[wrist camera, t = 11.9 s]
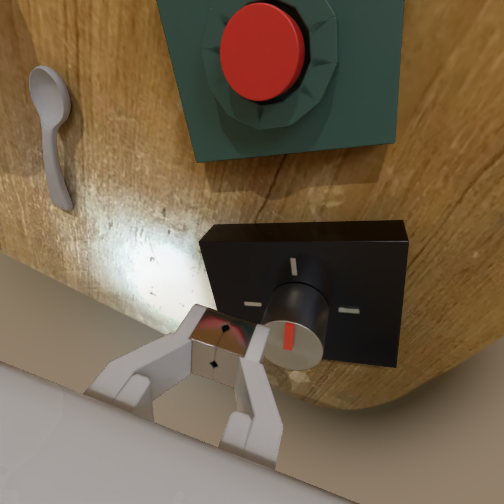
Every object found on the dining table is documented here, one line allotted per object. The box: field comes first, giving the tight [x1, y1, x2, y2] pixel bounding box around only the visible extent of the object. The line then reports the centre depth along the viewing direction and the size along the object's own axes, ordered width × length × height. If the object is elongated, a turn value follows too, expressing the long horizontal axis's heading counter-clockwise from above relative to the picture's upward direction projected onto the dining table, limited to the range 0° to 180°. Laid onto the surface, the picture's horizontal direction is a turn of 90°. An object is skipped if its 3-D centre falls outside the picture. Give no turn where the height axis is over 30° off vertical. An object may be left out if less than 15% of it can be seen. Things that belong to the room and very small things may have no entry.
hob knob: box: [260, 283, 329, 370], centre depth 21 cm, size 4×4×4 cm
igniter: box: [156, 0, 404, 163], centre depth 16 cm, size 12×10×4 cm
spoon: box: [29, 66, 73, 211], centre depth 25 cm, size 3×12×2 cm, turn 161°
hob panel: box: [199, 220, 409, 368], centre depth 24 cm, size 14×11×3 cm
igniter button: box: [220, 3, 305, 101], centre depth 14 cm, size 4×4×2 cm
